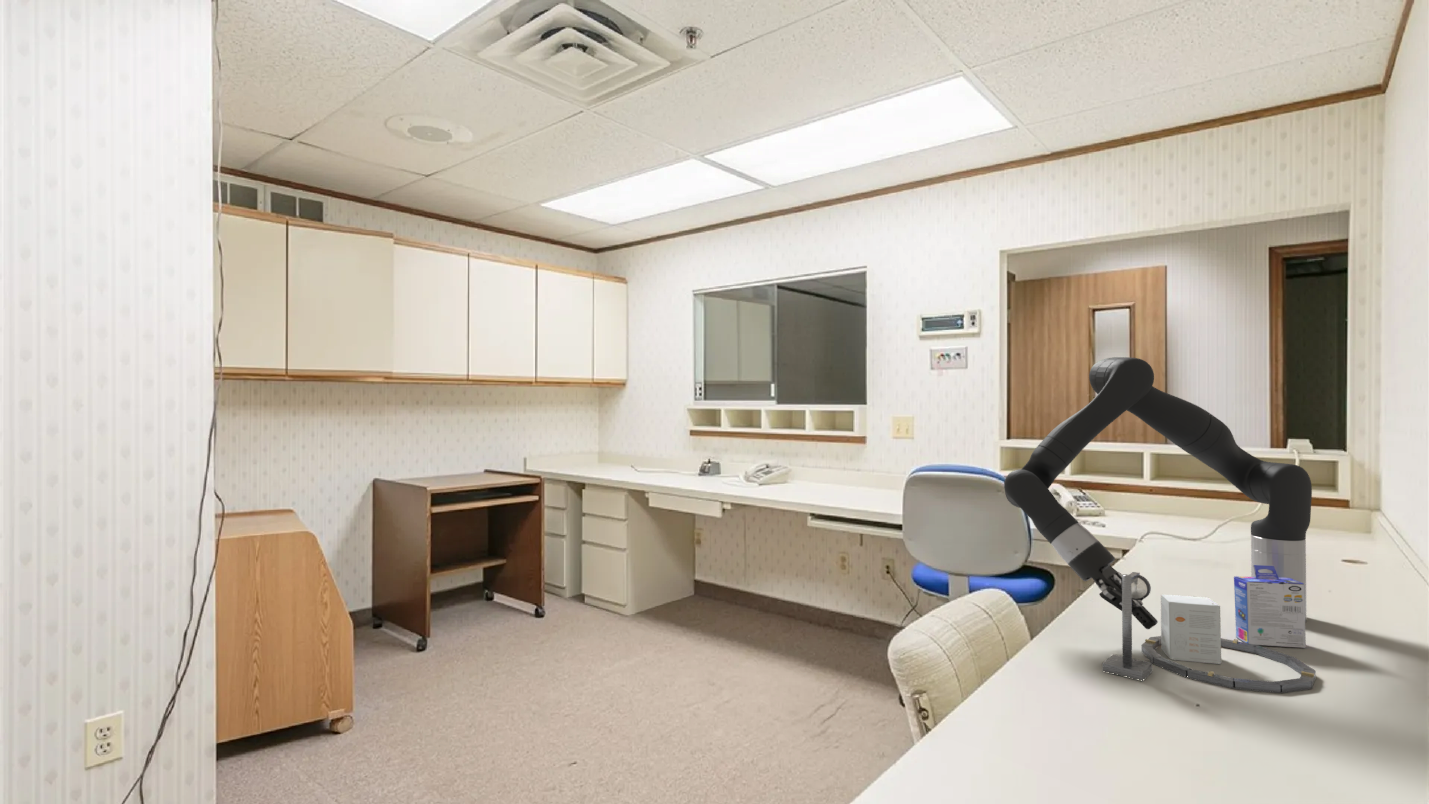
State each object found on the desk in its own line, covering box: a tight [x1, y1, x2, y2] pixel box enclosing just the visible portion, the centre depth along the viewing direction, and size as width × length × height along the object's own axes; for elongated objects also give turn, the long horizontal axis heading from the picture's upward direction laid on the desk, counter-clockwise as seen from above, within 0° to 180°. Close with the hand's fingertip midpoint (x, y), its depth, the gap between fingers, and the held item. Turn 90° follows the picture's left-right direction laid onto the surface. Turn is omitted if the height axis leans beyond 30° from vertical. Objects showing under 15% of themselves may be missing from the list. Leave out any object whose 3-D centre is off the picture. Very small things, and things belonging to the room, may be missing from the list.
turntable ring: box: [1141, 635, 1317, 694], centre depth 122 cm, size 24×24×2 cm
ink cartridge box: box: [1233, 565, 1307, 649], centre depth 133 cm, size 10×6×14 cm, turn 78°
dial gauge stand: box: [1102, 571, 1153, 682], centre depth 120 cm, size 9×6×16 cm, turn 135°
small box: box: [1160, 593, 1222, 665], centre depth 125 cm, size 8×6×10 cm
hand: (1153, 626), depth 130 cm, fingers closed
